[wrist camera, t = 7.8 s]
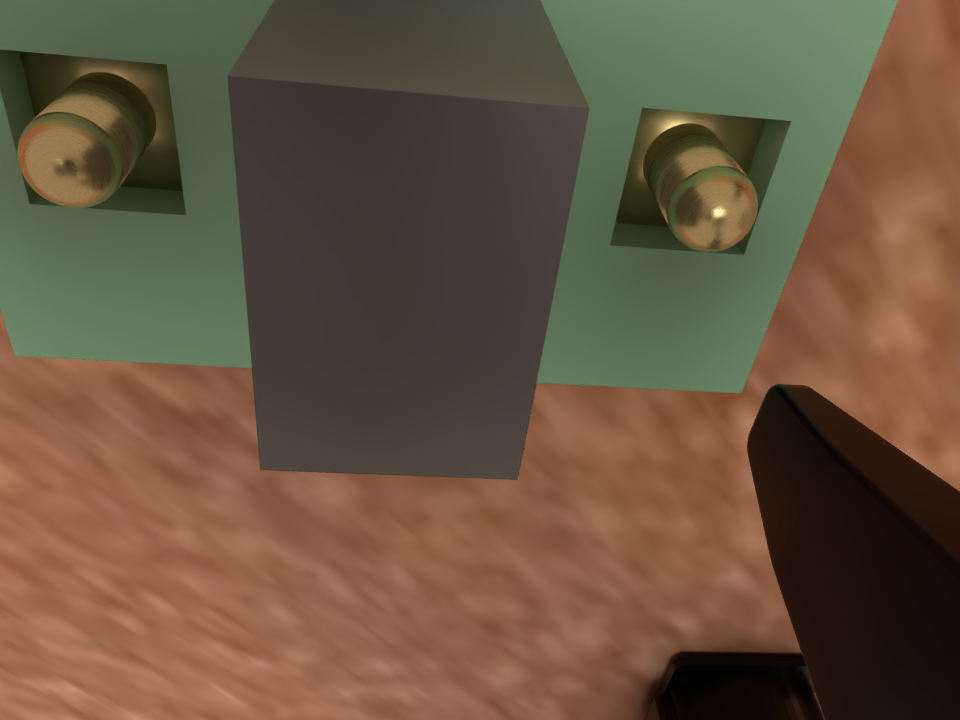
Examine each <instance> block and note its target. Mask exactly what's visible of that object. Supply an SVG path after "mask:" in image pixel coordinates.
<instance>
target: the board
mask: <svg viewBox="0 0 960 720" xmlns="http://www.w3.org/2000/svg"><path fill="white" fill-rule="evenodd" d="M897 3H898V0H0V310H1V313H2V316H3V320H4V323H5V326H6V329H7V332H8V336H9V339H10V342H11V345H12V349H13V352H14V355H15V356H25V357H45V358H64V359H84V360H103V361H122V362H142V363H161V364H181V365H200V366H219V367H239V368H252V376H253V388H254V400H255V412H256V424H257V436H258V448H259V460H260V470H274V471H300V472H326V473H353V474H379V475H405V476H431V477H457V478H484V479H510V480H518V476H519V470H520V465H521V460H522V455H523V450H524V445H525V440H526V434H527V429H528V424H529V419H530V414H531V409H532V403H533V398H534V393H535V388H536V383H549V384H569V385H588V386H607V387H627V388H646V389H666V390H685V391H704V392H724V393H742V391H743V389H744V386H745V384H746V381H747V379H748V376H749V373H750V371H751V368H752V366H753V363H754V361H755V358H756V356H757V353H758V351H759V348H760V346H761V343H762V341H763V338H764V336H765V333H766V331H767V328H768V326H769V323H770V321H771V318H772V316H773V313H774V311H775V308H776V306H777V303H778V301H779V298H780V296H781V293H782V291H783V288H784V286H785V283H786V281H787V278H788V276H789V273H790V271H791V268H792V266H793V263H794V261H795V258H796V256H797V253H798V251H799V248H800V246H801V243H802V241H803V238H804V236H805V233H806V231H807V228H808V226H809V223H810V221H811V218H812V216H813V213H814V211H815V208H816V206H817V203H818V201H819V198H820V196H821V193H822V191H823V188H824V186H825V183H826V181H827V178H828V176H829V173H830V171H831V168H832V166H833V163H834V161H835V158H836V156H837V153H838V150H839V148H840V145H841V143H842V140H843V138H844V135H845V133H846V130H847V128H848V125H849V123H850V120H851V118H852V115H853V113H854V110H855V108H856V105H857V103H858V100H859V98H860V95H861V93H862V90H863V88H864V85H865V83H866V80H867V78H868V75H869V73H870V70H871V68H872V65H873V63H874V60H875V58H876V55H877V53H878V50H879V48H880V45H881V43H882V40H883V38H884V35H885V33H886V30H887V28H888V25H889V23H890V20H891V18H892V15H893V13H894V10H895V8H896V5H897ZM20 51H24V52H35V53H46V54H57V55H68V56H79V57H90V58H101V59H112V60H123V61H134V62H145V63H156V64H167V71H168V78H169V86H170V94H171V102H172V110H173V117H174V125H175V133H176V141H177V149H178V156H179V164H180V172H181V180H182V188H183V191H176V190H163V189H149V188H136V187H122V186H120V187H119V188H118V190H117V191H116V192H115V193H114V194H113V195H112V196H111V197H110V198H108V199H107V200H105V201H104V202H102V203H100V204H97V205H95V206H91V207H87V208H69V207H64V206H60V205H57V204H54V203H52V202H50V201H48V200H46V199H44V198H43V197H42V196H40V195H39V194H38V193H36V192H35V191H34V190H33V189H32V188H31V186H30V185H29V184H28V183H27V181H26V180H25V178H24V177H23V175H22V172H21V170H20V167H19V163H18V158H17V149H18V142H19V139H20V136H21V134H22V132H23V130H24V129H25V128H26V126H27V125H28V124H29V123H30V122H31V121H32V120H33V119H34V118H35V115H34V110H33V106H32V102H31V98H30V93H29V89H28V85H27V81H26V76H25V72H24V68H23V64H22V59H21V55H20ZM642 108H653V109H664V110H675V111H686V112H697V113H708V114H719V115H730V116H741V117H752V118H763V119H766V122H765V125H764V128H763V131H762V134H761V137H760V140H759V143H758V146H757V149H756V152H755V155H754V158H753V161H752V164H751V167H750V170H749V173H748V178H749V179H750V180H751V182H752V184H753V186H754V188H755V191H756V194H757V199H758V210H757V215H756V219H755V222H754V224H753V226H752V228H751V229H750V231H749V232H748V234H747V235H746V236H745V237H744V238H743V239H742V240H741V241H740V242H738V243H737V244H735V245H734V246H732V247H730V248H727V249H725V250H721V251H717V252H702V251H697V250H694V249H692V248H689V247H687V246H686V245H684V244H683V243H682V242H680V241H679V240H678V239H677V238H676V237H675V236H674V234H673V233H672V231H671V229H670V228H669V227H661V226H648V225H634V224H621V223H615V221H616V217H617V213H618V209H619V204H620V200H621V196H622V192H623V187H624V183H625V179H626V174H627V170H628V166H629V162H630V157H631V153H632V149H633V145H634V140H635V136H636V132H637V128H638V123H639V119H640V115H641V110H642Z"/></svg>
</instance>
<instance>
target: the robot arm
mask: <svg viewBox="0 0 960 720" xmlns="http://www.w3.org/2000/svg"><path fill="white" fill-rule="evenodd" d="M747 451H748V457H749V462H750V467H751V471H752V476H753V481H754V485H755V490H756V494H757V499H758V504H759V508H760V513H761V517H762V522H763V527H764V531H765V536H766V540H767V545H768V549H769V553H770V557H771V561H772V565H773V568H774V571H775V575H776V578H777V581H778V584H779V587H780V590H781V593H782V596H783V599H784V602H785V605H786V608H787V610H788V613H789V616H790V619H791V622H792V625H793V628H794V631H795V634H796V637H797V640H798V643H799V646H800V649H801V652H802V655H803V657H730V656H681V657H678V658H676V659H674V660H673V661H672V663H671V665H670V667H669V669H668V671H667V674H666V676H665V678H664V680H663V683H662V685H661V687H660V689H659V692H658V694H657V695H656V696H655V698H654V699H653V701H652V704H651V706H650V708H649V710H648V713H647V715H646V717H645V719H644V720H960V491H958V490H957V489H955V488H954V487H952V486H951V485H950V484H948V483H947V482H945V481H944V480H942V479H941V478H940V477H938V476H937V475H935V474H934V473H932V472H931V471H929V470H928V469H927V468H925V467H924V466H922V465H921V464H919V463H918V462H916V461H915V460H914V459H912V458H911V457H909V456H908V455H906V454H905V453H904V452H902V451H901V450H899V449H898V448H896V447H895V446H893V445H892V444H891V443H889V442H888V441H886V440H885V439H883V438H882V437H880V436H879V435H878V434H876V433H875V432H873V431H872V430H870V429H869V428H868V427H866V426H865V425H863V424H862V423H860V422H859V421H857V420H856V419H855V418H853V417H852V416H850V415H849V414H847V413H846V412H845V411H843V410H842V409H840V408H839V407H837V406H836V405H834V404H833V403H832V402H830V401H829V400H827V399H826V398H824V397H823V396H822V395H820V394H819V393H817V392H816V391H814V390H813V389H811V388H810V387H807V386H803V385H785V384H777V385H774V386H772V387H771V388H770V389H769V390H768V392H767V393H766V395H765V398H764V400H763V402H762V405H761V407H760V409H759V412H758V414H757V416H756V419H755V421H754V424H753V426H752V428H751V431H750V433H749V437H748V443H747ZM814 692H815V693H816V696H817V699H818V702H819V704H820V706H819V704H818V702H817V699H816V697H815V694H814ZM820 707H821V709H820ZM821 710H822V711H821ZM822 713H823V714H822Z"/></svg>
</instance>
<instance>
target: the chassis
mask: <svg viewBox="0 0 960 720" xmlns="http://www.w3.org/2000/svg"><path fill="white" fill-rule="evenodd" d="M20 55H21V59H22V64H23V68H24V72H25V76H26V81H27V85H28V89H29V93H30V98H31V102H32V106H33V110H34V115H35V118H34V119H33V120H32V121H31V122H30V123H29V124H28V125H27V126H26V128H25V129H24V130H23V132H22V134H21V136H20V139H19V142H18V149H17V158H18V163H19V167H20V170H21V172H22V175H23V177H24V178H25V180H26V181H27V183H28V184H29V185H30V186H31V188H32V189H33V190H34V191H35V192H36V193H38V194H39V195H40V196H42V197H43V198H44V199H46V200H48V201H50V202H52V203H54V204H57V205H60V206H64V207H69V208H87V207H91V206H95V205H97V204H100V203H102V202H104V201H105V200H107V199H108V198H110V197H111V196H112V195H113V194H114V193H115V192H116V191H117V190H118V188H119V187H120V186H122V187H136V188H149V189H163V190H176V191H183V188H182V180H181V172H180V164H179V156H178V149H177V141H176V133H175V125H174V117H173V110H172V102H171V94H170V86H169V78H168V71H167V64H156V63H145V62H134V61H123V60H112V59H101V58H90V57H79V56H68V55H57V54H46V53H35V52H24V51H20ZM765 122H766V119H763V118H752V117H741V116H730V115H719V114H708V113H697V112H686V111H675V110H664V109H653V108H642V110H641V115H640V119H639V123H638V128H637V132H636V136H635V140H634V145H633V149H632V153H631V157H630V162H629V166H628V170H627V174H626V179H625V183H624V187H623V192H622V196H621V200H620V204H619V209H618V213H617V217H616V221H615V223H621V224H634V225H648V226H661V227H669V228H670V229H671V231H672V233H673V234H674V236H675V237H676V238H677V239H678V240H679V241H680V242H682V243H683V244H684V245H686V246H687V247H689V248H692V249H694V250H697V251H702V252H717V251H721V250H725V249H727V248H730V247H732V246H734V245H735V244H737V243H738V242H740V241H741V240H742V239H743V238H744V237H745V236H746V235H747V234H748V232H749V231H750V229H751V228H752V226H753V224H754V222H755V219H756V215H757V210H758V199H757V194H756V191H755V188H754V186H753V184H752V182H751V180H750V179H749V178H748V173H749V170H750V167H751V164H752V161H753V158H754V155H755V152H756V149H757V146H758V143H759V140H760V137H761V134H762V131H763V128H764V125H765Z"/></svg>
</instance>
